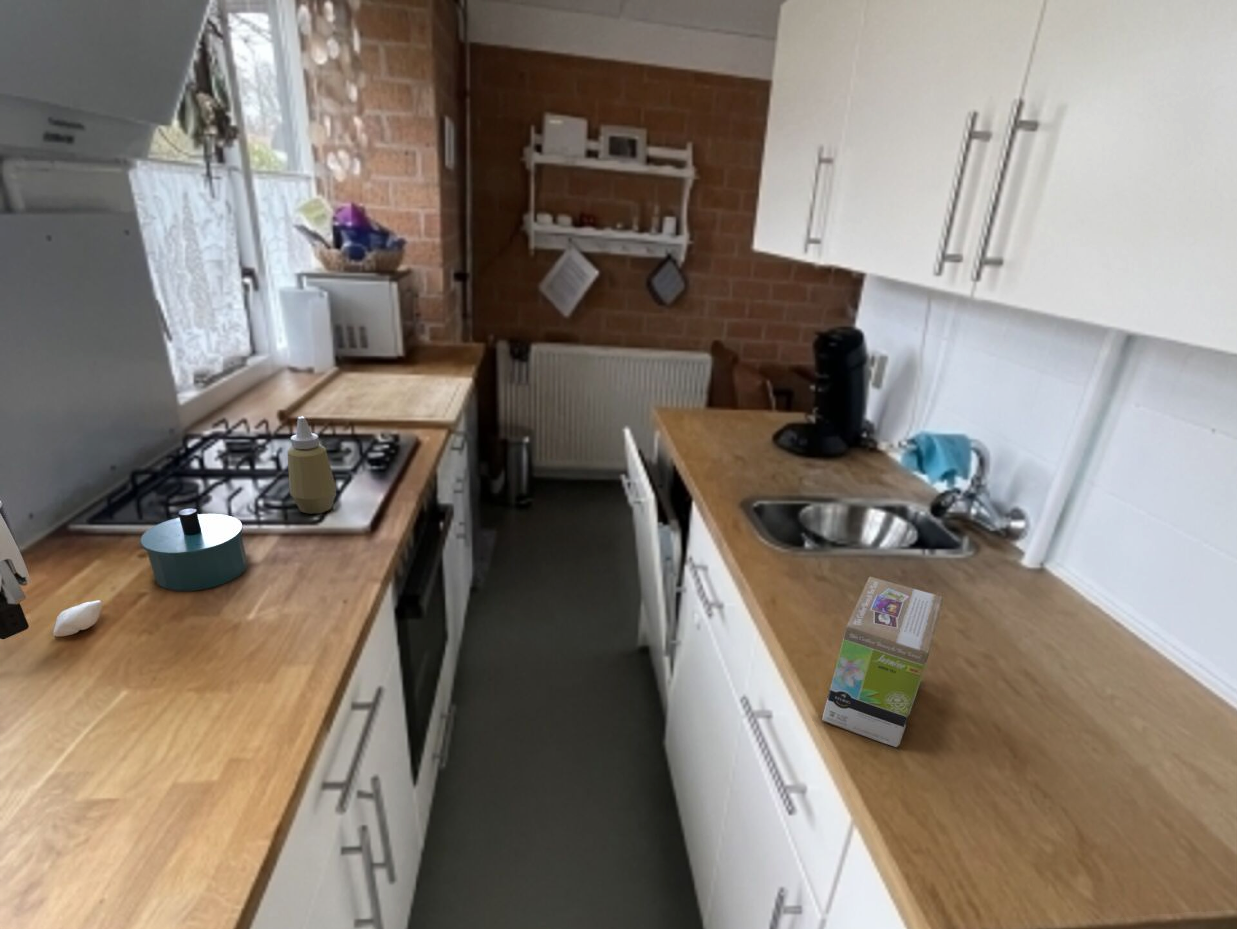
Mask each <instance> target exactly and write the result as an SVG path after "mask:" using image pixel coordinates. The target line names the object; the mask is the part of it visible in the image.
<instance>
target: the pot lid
mask: <svg viewBox="0 0 1237 929" xmlns="http://www.w3.org/2000/svg"><path fill="white" fill-rule="evenodd" d="M242 532H243V524H242V522H241V521H240V520H239V519H237V518H236V517H233V516H230V515H228V514H227V515H226V514H220V513H219V514H218V513H200V514H199V513H198V511H197V509H196V508H185V509H182V510H180V511H178V517H176V518H173V519H172V518H171V519H169V520H166V521H163V522H161V523H158V524H156V525H153V526H152V527H150V528H149V529H147V530H146V531H145V532H143V534H142V535H141V537H140V545H141V547H142V548H143V549H144V550H145V551H146V552H147V551H149V552H151V553H155V554H160V555H188V554H195V553H201V552H205V551H209V550H213V549H216V548H219V547H221V546H224V545H226V544H228V543H230V542H232V541H233V540H235V539H236V538H237V537H238V536H239V535H240V534H241V535H242Z"/></svg>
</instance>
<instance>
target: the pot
mask: <svg viewBox="0 0 1237 929" xmlns="http://www.w3.org/2000/svg"><path fill="white" fill-rule="evenodd" d="M245 549H246V548H245V545H244V541H243V536H242V533H241V534H240V535H239V536H238V537H237V538H236V539H235V540H233V541H232V542H230V543H228V544H226V545H224V546H221V547H219V548H216V549H213V550H209V551H205V552H201V553H195V554H188V555H160V554H155V553H151V552H149V551H147V550H146V552H147V556H148V559H149V563H150V567H151V569H152V573H153V577H154V579H155V582H156V583H157V584H158V585H159V586H160V587H162V588H164V589H166V590H170V591H175V592H176V591H177V592H193V591H201V590H206V589H210V588H215V587H217V586H221V585H223V584H226V583H229V582H231V581H233V580H235V579H236V578H238V577H239V576H240V575H242V574H243V573H244V572H245V570H246V569H247V567H248V566H247V565H248V563H247V562H248V558H247V554H246V550H245Z"/></svg>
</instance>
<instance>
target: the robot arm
mask: <svg viewBox="0 0 1237 929" xmlns="http://www.w3.org/2000/svg"><path fill="white" fill-rule="evenodd" d="M2 506H3V503H2V500H1V499H0V509H1V508H2ZM29 583H30V575H29V572H28V569H27V566H26V563H25V561H24V558H23V557H22V553H21V552H20V549H19V547H18V545H17V543H16V541H15V539H14V536H13V535H12V533H11V531H10V529H9V527H8V524H7V523H6V521H5V519H4V518H3V516H2V514H1V513H0V640H6V639H9V638H10V637H13V636H16V635H17V634H19V633H22V632H24V631H26V630H28V629H29V627H30V625H29V622H28V620H27V618H26V615H25V613H24V610H23V608H22V605H21V602H23V601H25V600H27V596H26V594H25V592H24V591H23V588H22V587H23V586H27V585H28V584H29ZM21 586H22V587H21Z"/></svg>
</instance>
